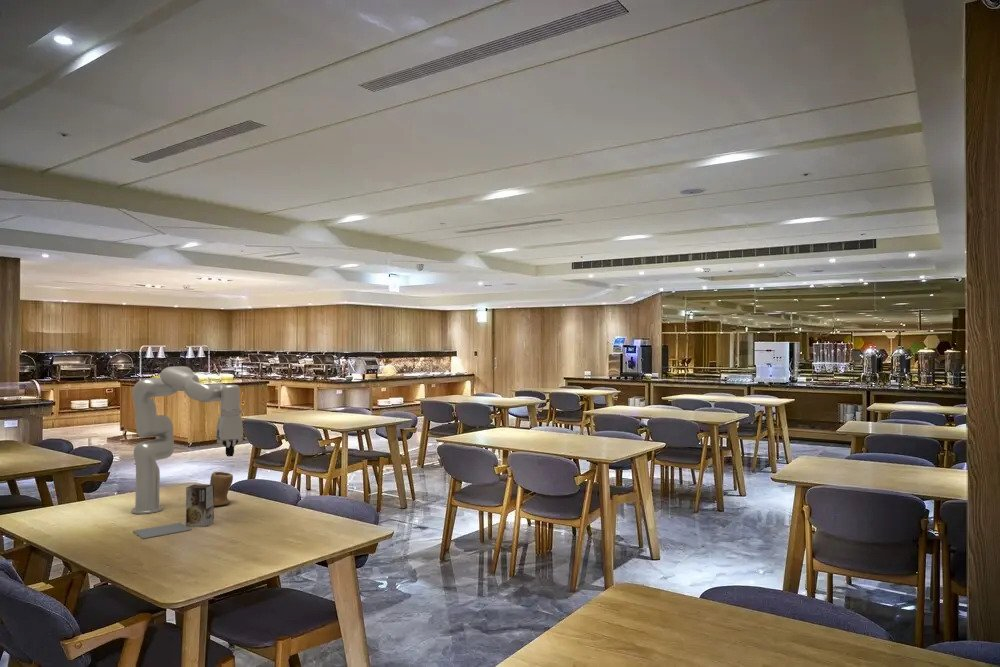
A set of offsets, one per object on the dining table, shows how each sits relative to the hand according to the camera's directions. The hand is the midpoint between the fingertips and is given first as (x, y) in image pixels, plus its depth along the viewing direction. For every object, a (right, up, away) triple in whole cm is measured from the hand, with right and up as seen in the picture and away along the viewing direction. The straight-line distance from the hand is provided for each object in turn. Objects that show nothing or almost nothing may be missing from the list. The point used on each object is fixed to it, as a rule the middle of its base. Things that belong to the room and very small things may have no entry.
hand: (229, 456), depth 280 cm
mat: (-19, -27, -19) cm, 38 cm away
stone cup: (-17, -28, +27) cm, 43 cm away
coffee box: (-9, -27, -9) cm, 30 cm away
